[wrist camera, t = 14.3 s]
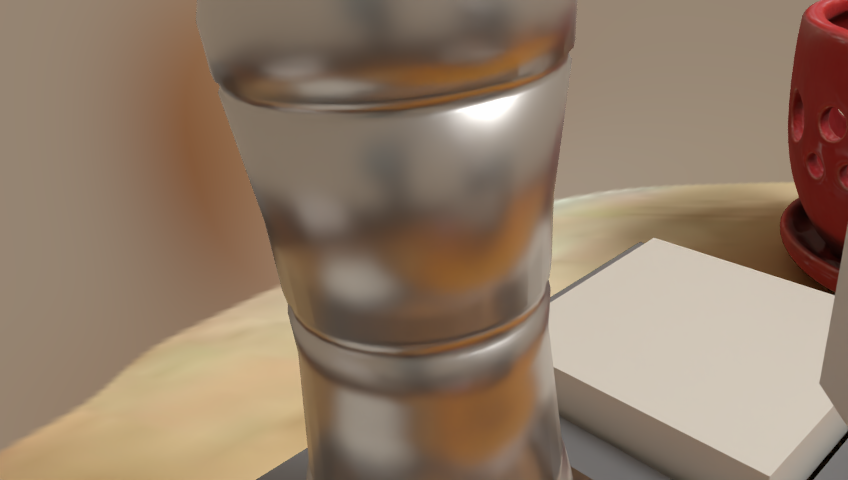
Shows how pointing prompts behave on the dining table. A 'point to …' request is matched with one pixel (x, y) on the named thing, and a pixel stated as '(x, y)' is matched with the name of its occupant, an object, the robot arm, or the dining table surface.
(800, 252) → the plant pot
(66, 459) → the dining table surface
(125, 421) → the dining table surface
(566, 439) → the keypad frame
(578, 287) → the pale key
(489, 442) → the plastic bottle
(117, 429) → the dining table surface
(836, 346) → the robot arm
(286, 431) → the dining table surface
